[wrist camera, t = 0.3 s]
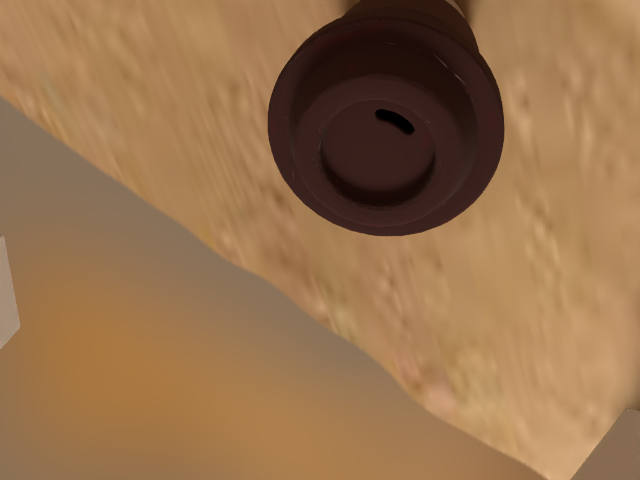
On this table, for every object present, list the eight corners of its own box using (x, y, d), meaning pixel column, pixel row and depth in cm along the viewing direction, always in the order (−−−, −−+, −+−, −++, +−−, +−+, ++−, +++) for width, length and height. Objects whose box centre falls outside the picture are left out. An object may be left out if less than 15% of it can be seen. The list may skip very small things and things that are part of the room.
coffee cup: (374, 145, 40) (333, 284, 28) (296, 9, 36) (208, 104, 24) (519, 78, 35) (545, 210, 23) (449, -84, 31) (437, -26, 19)
